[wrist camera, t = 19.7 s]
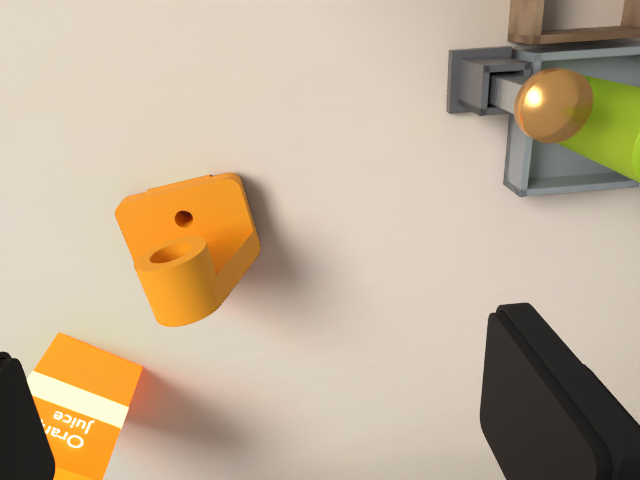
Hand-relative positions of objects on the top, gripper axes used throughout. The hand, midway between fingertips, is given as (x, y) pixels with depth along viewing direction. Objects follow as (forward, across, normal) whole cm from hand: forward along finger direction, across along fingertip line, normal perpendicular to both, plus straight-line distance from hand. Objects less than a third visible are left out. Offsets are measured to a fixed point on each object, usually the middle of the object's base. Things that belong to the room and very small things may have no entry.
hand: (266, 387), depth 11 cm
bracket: (+37, +8, +10) cm, 39 cm away
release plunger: (+35, -18, -1) cm, 39 cm away
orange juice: (+36, +21, +26) cm, 49 cm away
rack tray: (+36, -26, +3) cm, 45 cm away
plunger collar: (+36, -18, 0) cm, 40 cm away
